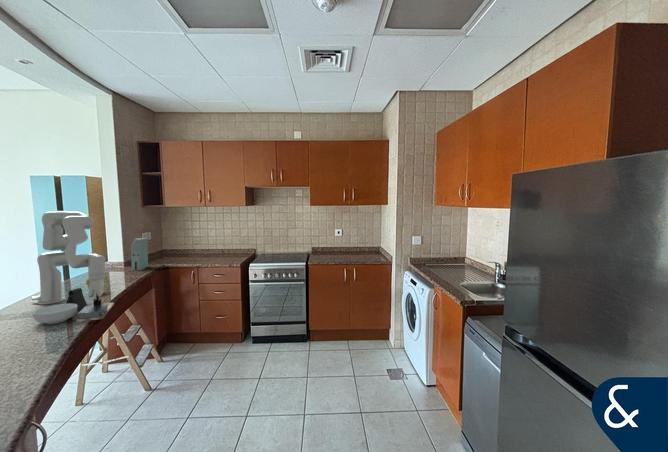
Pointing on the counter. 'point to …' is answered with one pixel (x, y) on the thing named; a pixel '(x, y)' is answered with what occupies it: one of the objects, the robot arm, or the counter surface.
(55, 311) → the cereal bowl
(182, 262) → the counter surface
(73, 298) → the door stopper
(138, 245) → the device
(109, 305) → the board
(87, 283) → the plant pot
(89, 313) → the housing
